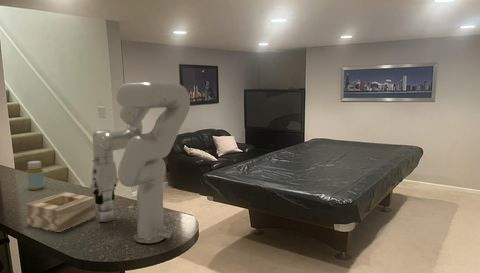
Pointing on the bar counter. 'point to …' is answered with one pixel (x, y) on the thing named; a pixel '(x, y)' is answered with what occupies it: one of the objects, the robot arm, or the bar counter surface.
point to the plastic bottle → (106, 205)
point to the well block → (60, 211)
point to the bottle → (35, 175)
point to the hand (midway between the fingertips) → (105, 201)
